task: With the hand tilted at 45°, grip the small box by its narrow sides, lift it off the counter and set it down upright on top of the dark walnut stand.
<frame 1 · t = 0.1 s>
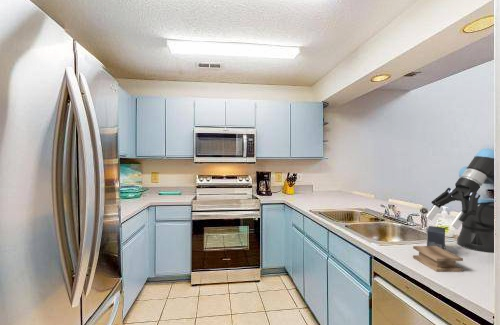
hand: (440, 222, 105), 15 cm above the table, tool tilted 35°, fingers open, 13 cm apart
small box: (435, 252, 113), on the table
stand: (436, 264, 100), on the table
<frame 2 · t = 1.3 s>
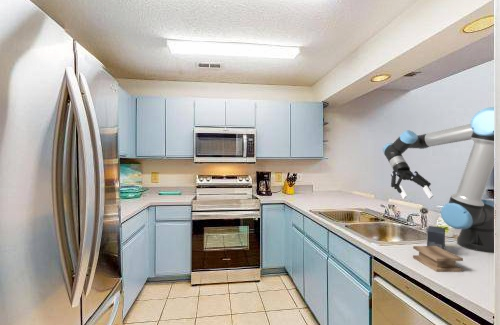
hand: (418, 197, 124), 23 cm above the table, tool tilted 45°, fingers open, 13 cm apart
nothing on the table moved.
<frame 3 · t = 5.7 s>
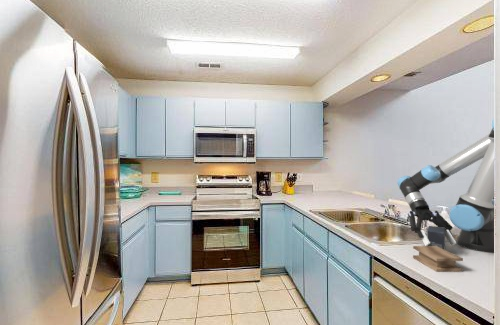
hand: (441, 244, 110), 4 cm above the table, tool tilted 45°, fingers closed on small box, 11 cm apart
small box: (435, 252, 113), on the table, touching gripper
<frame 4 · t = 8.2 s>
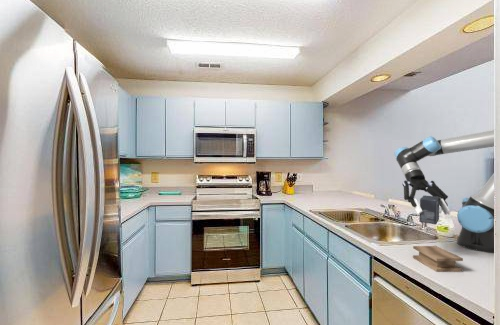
hand: (433, 213, 108), 19 cm above the table, tool tilted 45°, fingers closed on small box, 11 cm apart
small box: (428, 221, 111), point 14 cm above the table, touching gripper
when the fingers open (11 cm above the table, at t = 11.1 s): small box drops 1 cm, resting on stand.
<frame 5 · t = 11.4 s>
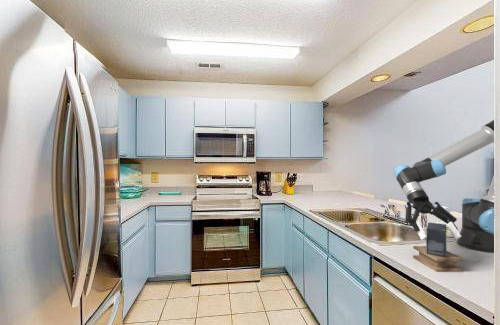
hand: (441, 238, 97), 11 cm above the table, tool tilted 45°, fingers open, 13 cm apart
small box: (436, 252, 100), point 5 cm above the table, touching stand
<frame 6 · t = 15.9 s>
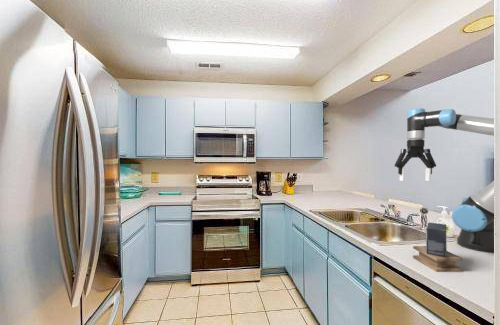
hand: (414, 180, 128), 31 cm above the table, tool pointing down, fingers open, 13 cm apart
nothing on the table moved.
at the end: small box inside the target area on the stand (0.2 cm from its centre), point 4.8 cm above the stand's base; small box tilted 0°; the gripper is holding nothing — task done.
